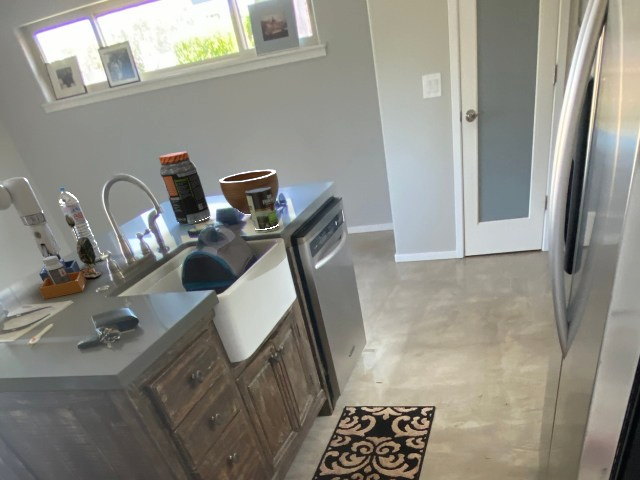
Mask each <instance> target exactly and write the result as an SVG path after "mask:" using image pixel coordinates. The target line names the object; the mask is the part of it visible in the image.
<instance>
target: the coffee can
mask: <svg viewBox="0 0 640 480" xmlns="http://www.w3.org/2000/svg"><path fill="white" fill-rule="evenodd" d="M245 193H246V196H247V200H248V204H249V208H250V212H251V216H250V217H251V219H252V223H253V227H254V232H255V233H256V234H257V233H259V234H261V233H271V232H274V231H277V230H279V229H280V225H279V226H277V227H275V228H272V229H267V230H255V228H256V229H265V228H270V227H273V226H276V225H277V224H278V223H279V218H278V214H277V210H276V204H275V203H274V200H273V195H272V189H271V187H259V188H254V189H250V190H247V191H246V192H245ZM279 224H280V223H279Z"/></svg>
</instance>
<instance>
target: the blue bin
mask: <svg viewBox="0 0 640 480" xmlns="http://www.w3.org/2000/svg"><path fill="white" fill-rule="evenodd" d="M64 262H65V264H66V266H67V268H65V270H66V272H67V274H69V273H74V272H79V271H81V268H80V266H79V264H78V261H77V259H71V260H67V261H64ZM45 267H46V265H44V266H43V267H42V269H41V270H40V271H39V273H38V274H39V276H40V278H41V280H42V282H43V281H44V280H45V278H49V275H48V273H47V271H46V269H45Z"/></svg>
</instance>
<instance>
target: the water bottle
mask: <svg viewBox="0 0 640 480" xmlns="http://www.w3.org/2000/svg"><path fill="white" fill-rule="evenodd" d="M58 190H59V192H60V194H59V195H58V198H57V204H58V207H59V208H60V210H61V212H62V214H63V217H64V219H65V220H66V217H65V216H66V215H69V216H71V217H72V218H73V220H74V222H75V226H74V228H75V231H76V233H77V236H78V239H80V237H87V238H88V239H89V240H90V242H91V244H92V246H93V249H94V252H95V256H96V258H95V263H97V262H100V261H99V257H100V254H102V252H101V250H100V247H99V245H98V243H97V241H96V238H95V236H94V233H93V232H92V230H91V227H90V225H89V223H88V221H87V219H86V216H85V214H84V212H83V210H82V208H81V205H80V203H79V200H78V199H77V197H76V196H74V195H73V194H71V193H70V192H68V191H66V187H64V186H61V187H58ZM68 228H69V230H70V232H71V234H72V237H73V238H74V241H75V243H76V244H77V241H78V239H77V236H76V233H75V231H74V228H73V227H72V229H71V227H70V226H69V225H68Z"/></svg>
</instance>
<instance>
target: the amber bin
mask: <svg viewBox="0 0 640 480" xmlns="http://www.w3.org/2000/svg"><path fill="white" fill-rule="evenodd" d="M82 271H83V270H80V271H79V272H74V273H69V274H68V275H69V277H70V279H71V282H67V283H62V284H57V285H53V283H52V281H51V279H50V277H49V278H45V280H44V281H43V280H42V283H41V284H40V286H39V287H38V289H39V292H40V293H41V295H42V297H43V299H44V300H48V299H52V298H57V297H61V296H67V295H72V294H76V293H81V292H83V291H84V289H85V286H86V284H87V279H86V277H84V275H83V272H82Z"/></svg>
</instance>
